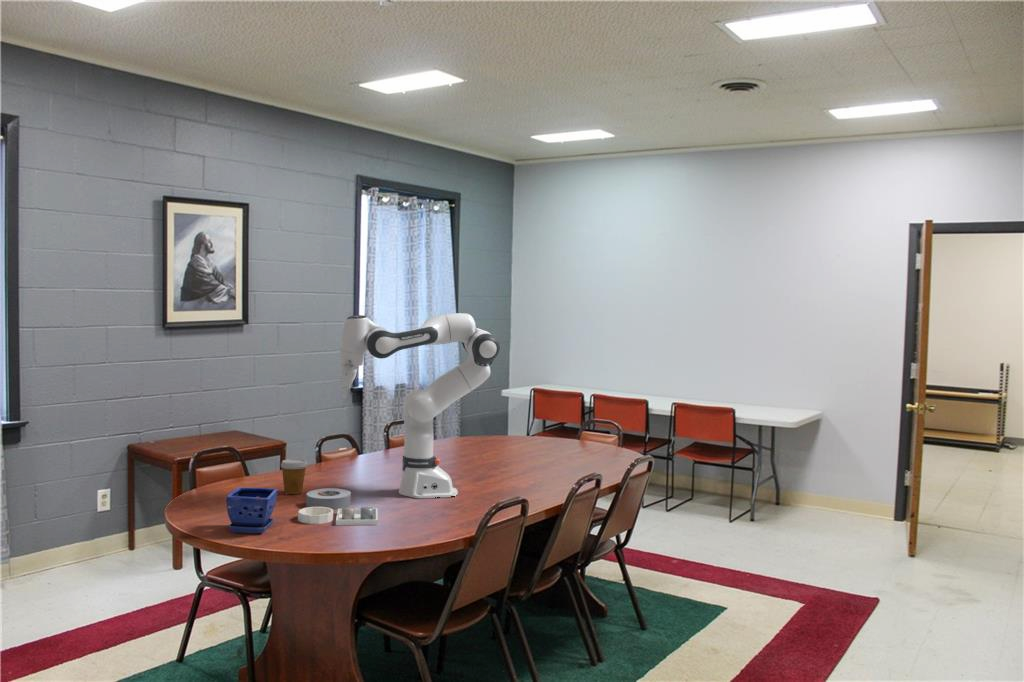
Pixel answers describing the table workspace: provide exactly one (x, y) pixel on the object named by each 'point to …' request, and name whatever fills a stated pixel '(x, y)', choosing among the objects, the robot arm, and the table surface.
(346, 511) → the pebble
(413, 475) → the robot arm
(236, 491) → the flower pot
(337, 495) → the tape roll
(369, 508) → the pebble
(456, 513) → the table surface
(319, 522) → the bowl
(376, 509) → the tray
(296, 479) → the disposable coffee cup
